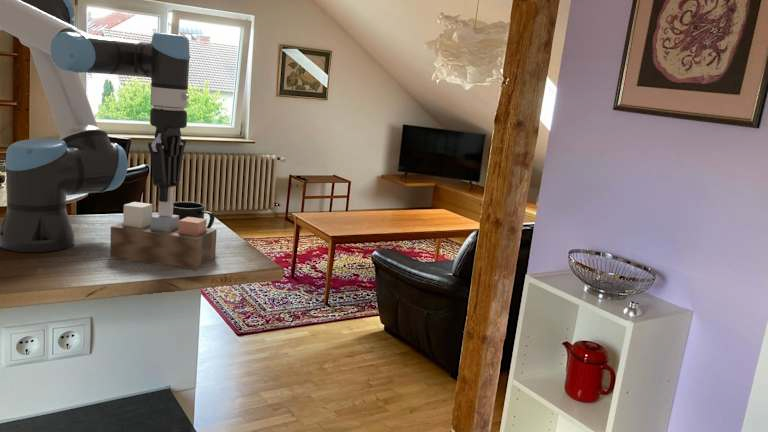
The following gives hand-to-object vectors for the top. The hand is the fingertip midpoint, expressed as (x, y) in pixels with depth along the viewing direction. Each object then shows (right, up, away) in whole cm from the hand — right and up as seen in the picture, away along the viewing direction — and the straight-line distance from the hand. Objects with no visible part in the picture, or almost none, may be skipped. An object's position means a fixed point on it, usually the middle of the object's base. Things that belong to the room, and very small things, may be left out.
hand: (165, 215), depth 141 cm
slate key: (-1, -7, +2) cm, 7 cm away
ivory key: (-7, -4, +2) cm, 9 cm away
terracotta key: (+6, -8, +1) cm, 10 cm away
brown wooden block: (-1, -10, +2) cm, 10 cm away
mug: (+1, -7, +16) cm, 17 cm away
